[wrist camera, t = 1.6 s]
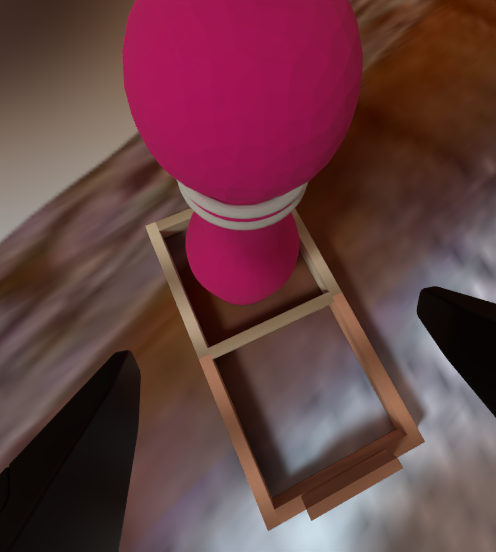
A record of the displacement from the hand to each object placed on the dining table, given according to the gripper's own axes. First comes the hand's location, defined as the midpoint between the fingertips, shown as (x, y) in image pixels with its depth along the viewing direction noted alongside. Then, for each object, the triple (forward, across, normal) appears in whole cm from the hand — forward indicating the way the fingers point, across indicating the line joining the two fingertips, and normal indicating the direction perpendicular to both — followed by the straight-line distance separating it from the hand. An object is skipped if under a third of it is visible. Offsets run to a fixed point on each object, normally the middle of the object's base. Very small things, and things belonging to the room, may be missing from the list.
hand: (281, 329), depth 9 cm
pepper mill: (+14, 0, +5) cm, 15 cm away
